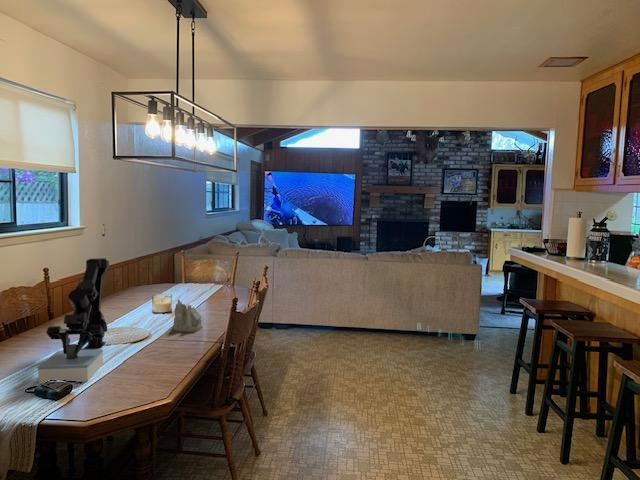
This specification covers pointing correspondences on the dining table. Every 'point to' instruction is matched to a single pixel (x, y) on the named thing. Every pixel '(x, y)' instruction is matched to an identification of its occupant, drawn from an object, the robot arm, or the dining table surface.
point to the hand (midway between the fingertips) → (70, 353)
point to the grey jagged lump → (186, 318)
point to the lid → (71, 358)
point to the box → (71, 372)
